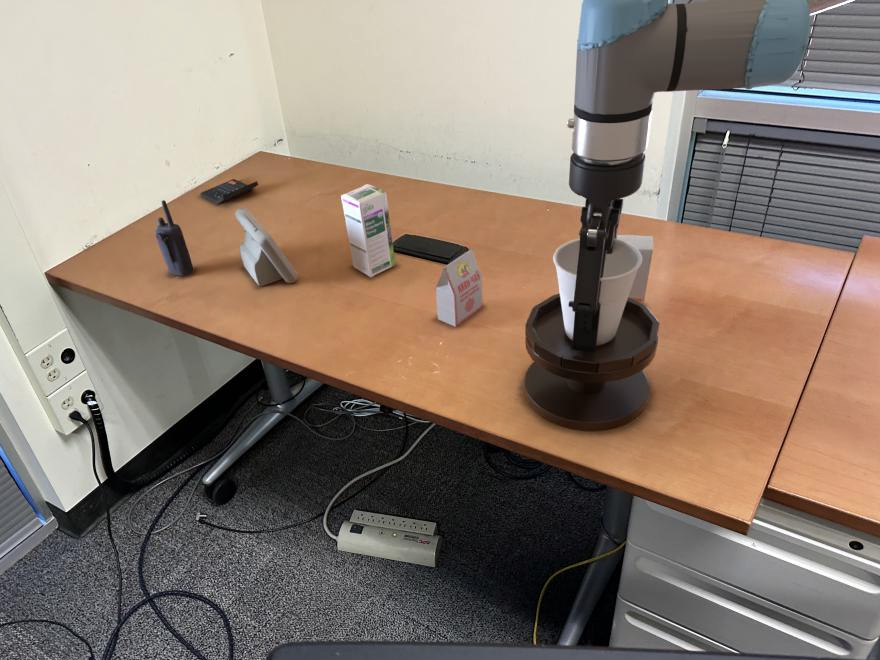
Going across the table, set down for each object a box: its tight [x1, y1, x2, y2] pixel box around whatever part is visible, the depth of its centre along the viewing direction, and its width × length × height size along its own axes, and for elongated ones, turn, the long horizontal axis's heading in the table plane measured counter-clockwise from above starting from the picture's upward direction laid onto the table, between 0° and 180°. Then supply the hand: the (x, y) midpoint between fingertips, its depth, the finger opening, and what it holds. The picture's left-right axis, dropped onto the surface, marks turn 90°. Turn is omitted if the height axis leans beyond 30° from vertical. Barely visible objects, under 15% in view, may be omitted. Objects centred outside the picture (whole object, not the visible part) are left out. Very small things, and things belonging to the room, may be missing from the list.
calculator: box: [199, 178, 259, 205], centre depth 159 cm, size 9×12×3 cm
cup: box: [552, 237, 642, 346], centre depth 83 cm, size 10×10×11 cm
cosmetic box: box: [617, 234, 655, 305], centre depth 102 cm, size 6×4×12 cm
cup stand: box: [523, 293, 660, 432], centre depth 89 cm, size 16×16×11 cm
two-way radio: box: [154, 199, 195, 277], centre depth 128 cm, size 6×4×15 cm
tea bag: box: [435, 249, 483, 328], centre depth 107 cm, size 4×7×10 cm, turn 134°
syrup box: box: [340, 183, 396, 278], centre depth 121 cm, size 6×6×14 cm
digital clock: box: [234, 207, 298, 287], centre depth 126 cm, size 16×9×11 cm, turn 14°
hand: (590, 328), depth 86 cm, fingers closed on cup, 8 cm apart
